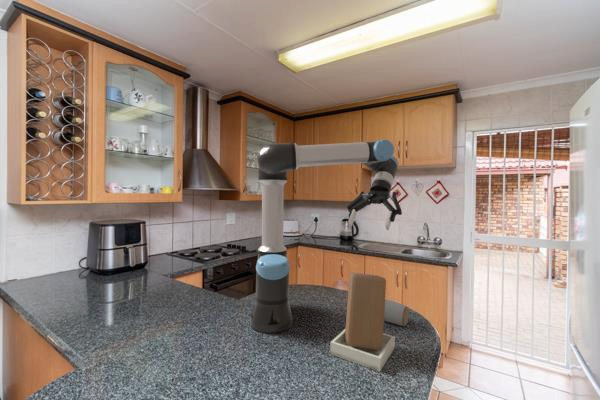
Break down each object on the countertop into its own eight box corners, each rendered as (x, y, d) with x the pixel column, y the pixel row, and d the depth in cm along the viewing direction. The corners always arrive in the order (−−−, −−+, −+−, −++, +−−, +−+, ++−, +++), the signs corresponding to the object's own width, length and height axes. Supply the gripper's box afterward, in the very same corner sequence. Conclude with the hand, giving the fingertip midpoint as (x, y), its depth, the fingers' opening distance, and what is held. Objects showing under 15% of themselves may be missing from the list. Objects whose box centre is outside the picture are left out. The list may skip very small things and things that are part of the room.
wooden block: (376, 341, 90) (380, 275, 93) (382, 351, 80) (386, 277, 83) (344, 336, 91) (349, 272, 94) (346, 346, 81) (352, 273, 85)
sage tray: (330, 354, 83) (330, 342, 83) (349, 334, 96) (350, 324, 96) (380, 371, 75) (380, 358, 75) (394, 348, 88) (394, 336, 88)
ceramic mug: (404, 330, 100) (405, 308, 100) (381, 323, 105) (382, 302, 105) (412, 320, 109) (412, 300, 109) (390, 314, 113) (391, 295, 113)
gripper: (416, 192, 110) (405, 236, 97) (354, 191, 123) (338, 229, 111) (413, 178, 105) (402, 221, 93) (349, 178, 119) (332, 216, 106)
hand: (367, 226), depth 102 cm, fingers open, 13 cm apart
